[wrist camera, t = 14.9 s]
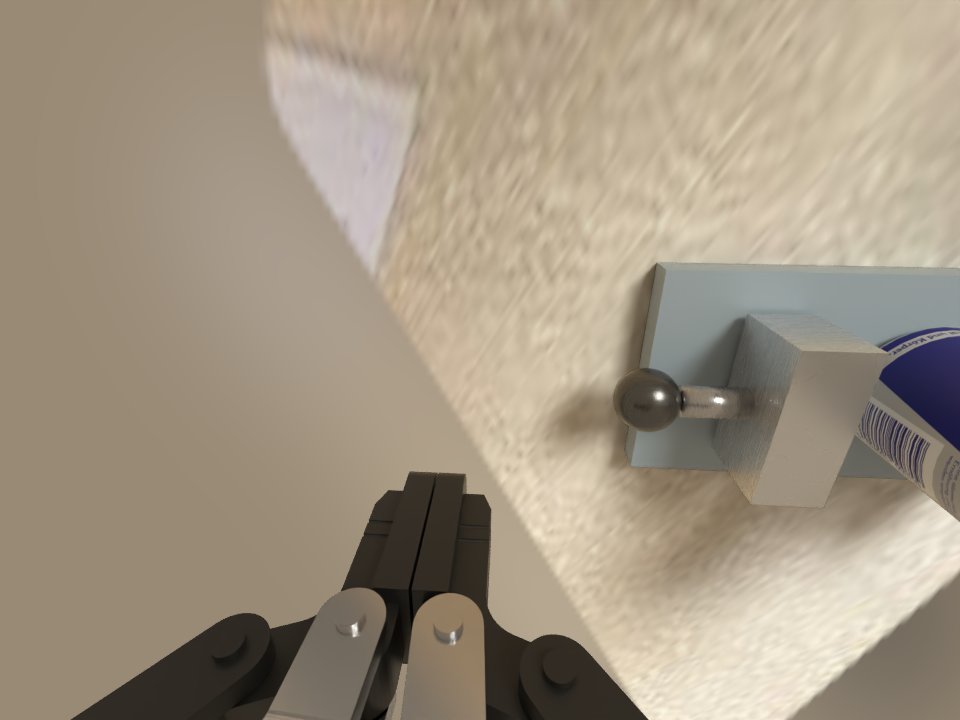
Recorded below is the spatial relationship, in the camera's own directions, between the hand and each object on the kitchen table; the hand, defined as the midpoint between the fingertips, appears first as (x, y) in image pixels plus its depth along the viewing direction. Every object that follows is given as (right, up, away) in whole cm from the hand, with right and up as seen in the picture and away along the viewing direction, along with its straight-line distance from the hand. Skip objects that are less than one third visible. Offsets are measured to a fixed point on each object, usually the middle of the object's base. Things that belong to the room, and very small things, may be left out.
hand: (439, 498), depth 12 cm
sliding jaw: (+10, +3, +6) cm, 12 cm away
